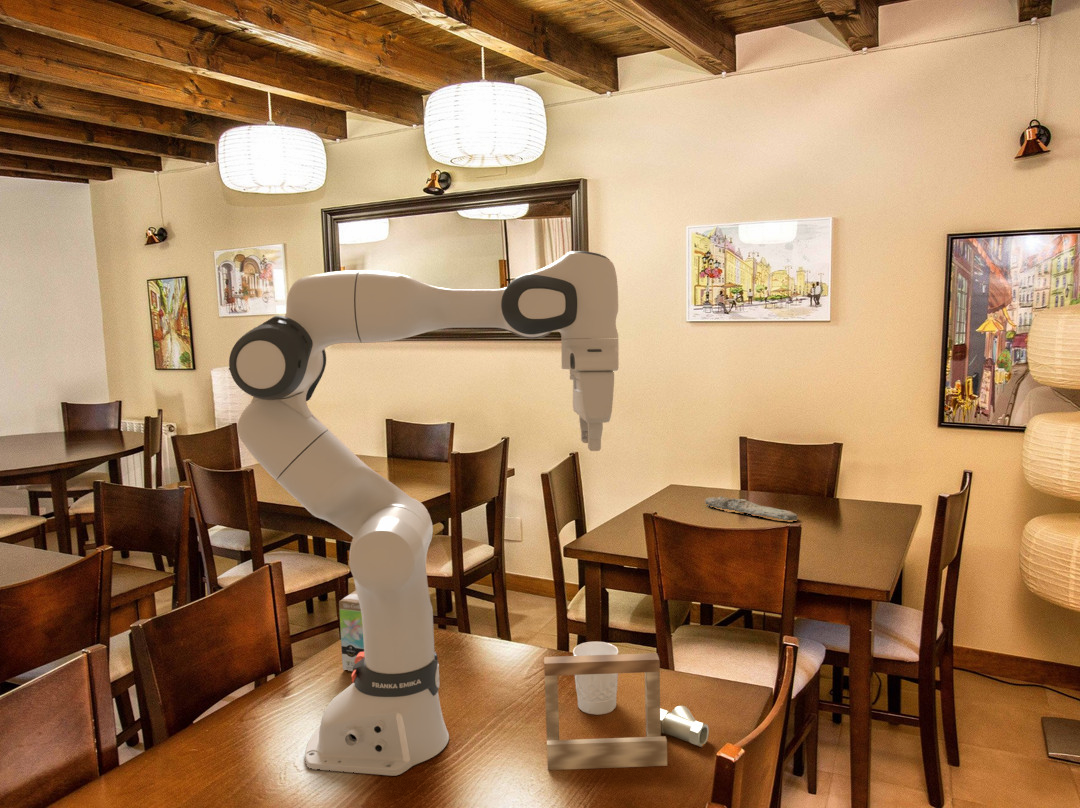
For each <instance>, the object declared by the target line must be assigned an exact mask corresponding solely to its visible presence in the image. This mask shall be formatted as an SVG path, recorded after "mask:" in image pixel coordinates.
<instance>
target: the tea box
mask: <svg viewBox="0 0 1080 808" xmlns="http://www.w3.org/2000/svg"><path fill="white" fill-rule="evenodd" d="M338 606H339V607H338V608H339V627H340V643H341V644H340V647H341V662H342V664H341V665H342V670H348V671H347V672H353V667H354V665H355V658H356V657H357V655H358V653H359V652H364V641H363V625H362V615H361V609H360V604H359V600H358V596H357V592H356V589H355V590H353V591H352V592H351V593H350V594H347V595H346V596H344V597H343V598H342V599H341V600H339V601H338Z"/></svg>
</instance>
